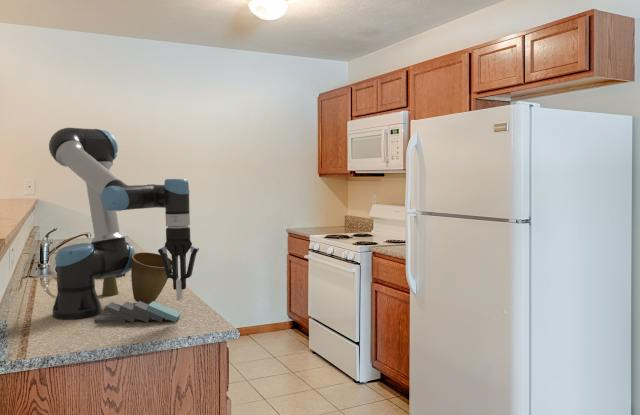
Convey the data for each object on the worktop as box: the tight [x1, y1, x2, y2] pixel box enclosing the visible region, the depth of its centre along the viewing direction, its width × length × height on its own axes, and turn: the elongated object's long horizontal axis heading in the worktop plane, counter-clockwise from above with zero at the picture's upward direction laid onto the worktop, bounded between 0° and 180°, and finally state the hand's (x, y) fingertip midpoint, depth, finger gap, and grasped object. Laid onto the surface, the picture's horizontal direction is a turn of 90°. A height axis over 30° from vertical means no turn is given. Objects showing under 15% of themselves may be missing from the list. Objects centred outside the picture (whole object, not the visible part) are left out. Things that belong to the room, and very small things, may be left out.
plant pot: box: [130, 252, 172, 305], centre depth 192 cm, size 15×15×16 cm
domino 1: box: [93, 314, 129, 324], centre depth 171 cm, size 2×5×10 cm
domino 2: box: [103, 301, 139, 323], centre depth 171 cm, size 2×5×10 cm
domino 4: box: [132, 301, 166, 323], centre depth 171 cm, size 2×5×10 cm
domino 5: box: [146, 301, 182, 323], centre depth 171 cm, size 2×5×10 cm
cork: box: [101, 276, 119, 297], centre depth 207 cm, size 6×6×11 cm
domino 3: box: [119, 301, 153, 323], centre depth 171 cm, size 2×5×10 cm
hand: (180, 299), depth 170 cm, fingers closed
